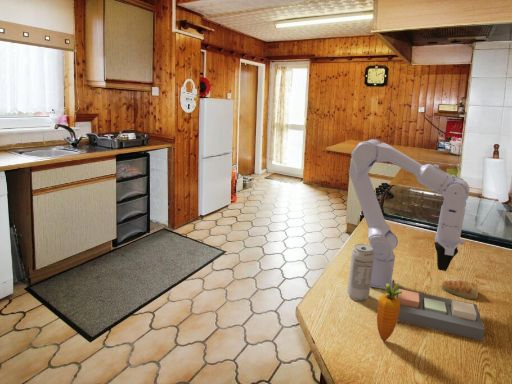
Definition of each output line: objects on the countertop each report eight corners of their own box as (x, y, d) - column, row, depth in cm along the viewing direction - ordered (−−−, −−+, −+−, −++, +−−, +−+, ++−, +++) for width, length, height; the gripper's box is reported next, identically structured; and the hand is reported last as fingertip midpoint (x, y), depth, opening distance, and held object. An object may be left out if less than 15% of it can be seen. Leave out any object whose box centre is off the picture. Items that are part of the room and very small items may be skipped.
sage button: (423, 317, 95) (425, 307, 94) (422, 307, 99) (424, 297, 98) (444, 322, 93) (446, 311, 92) (442, 312, 97) (444, 302, 97)
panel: (389, 318, 94) (391, 308, 94) (391, 296, 105) (392, 287, 105) (482, 340, 87) (485, 330, 86) (474, 314, 98) (476, 304, 97)
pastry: (442, 294, 108) (444, 282, 107) (439, 284, 114) (441, 272, 113) (478, 301, 105) (480, 289, 104) (473, 290, 111) (476, 279, 110)
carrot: (389, 334, 88) (398, 277, 84) (398, 347, 84) (407, 289, 80) (369, 333, 88) (377, 277, 84) (376, 347, 83) (385, 288, 79)
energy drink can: (368, 292, 107) (375, 245, 103) (368, 303, 101) (375, 253, 97) (347, 288, 108) (353, 241, 105) (346, 299, 103) (351, 249, 99)
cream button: (451, 320, 92) (454, 309, 91) (449, 310, 97) (451, 299, 96) (474, 325, 90) (476, 314, 90) (471, 314, 95) (473, 304, 94)
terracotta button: (397, 307, 97) (398, 297, 96) (397, 298, 101) (398, 288, 100) (417, 312, 95) (419, 302, 94) (416, 302, 99) (418, 293, 99)
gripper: (471, 235, 91) (461, 284, 94) (463, 218, 104) (454, 261, 107) (440, 230, 93) (431, 278, 97) (435, 214, 106) (428, 257, 110)
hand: (441, 269), depth 102 cm, fingers closed
